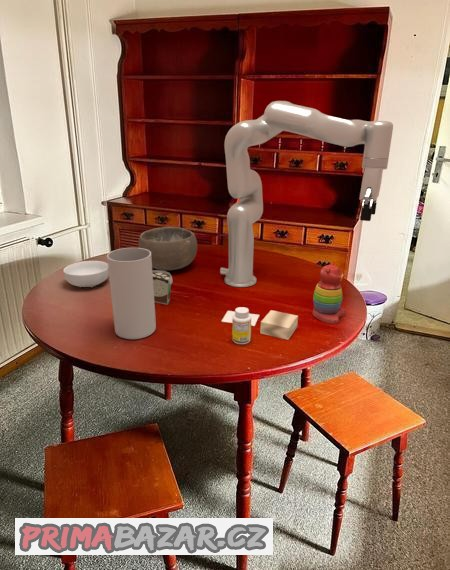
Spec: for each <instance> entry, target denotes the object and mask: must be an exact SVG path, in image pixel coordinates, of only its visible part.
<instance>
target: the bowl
mask: <svg viewBox="0 0 450 570" xmlns="http://www.w3.org/2000/svg"><path fill="white" fill-rule="evenodd" d="M138 248H143V249H147V250H149V251H150V252H151V258H152V269H153V270H154V269H155V270H159V271H165V272H169V271H174V270H180V269H183V268H185V267H188V265H190V264H191V263H192V262H193V260H194V259H195V257H196V255H197V252H198V240H197V238H196V235H195V233H194V232H192V231H191V230H189V229H186V228H183V227H177V226H163V227H157V228H156V227H155V228H152V229H148V230H146V231H143V232H141V234H140V236H139V237H138Z"/></svg>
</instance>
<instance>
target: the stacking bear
mask: <svg viewBox="0 0 450 570" xmlns="http://www.w3.org/2000/svg"><path fill="white" fill-rule="evenodd" d="M319 274H320V275H319V277H320V280H319V281H318V283H317V284H316V286H315V288H314V291H313V292H314V293H313V297H312V298H313V299H312V301H313V310H312V314H311V315H313V316H314V318H316V319H318V320H319V321H320V322H323V323H327V324H332V325H335V324H338V323H339V322H340V319H339V318H340V317H343V316H345V315H346V310H345V309H344V308H342V307H341V306H342V303H343V297H344V296H343V290H342V289H343V288H342V284H341V283H340V282H342V281H343V279H344V278H345V277H344V276H345V275H344V273H343V272H342V270H341V269H340V268H339V267H338V266H337V265H335V264H334V263H333V262H332V263H330V264H327V265H324V266H322V268H321V269H320V273H319Z"/></svg>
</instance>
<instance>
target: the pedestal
mask: <svg viewBox="0 0 450 570" xmlns="http://www.w3.org/2000/svg"><path fill="white" fill-rule="evenodd" d="M298 320H299V315H296V314H291V313H287V312H282V311H277V310H272V309H271V310H269V312H268V313H267V314H266V315H265V316H264V318H263V319H261V321H260V331H259V332H260V335H261V334H262V335H266V336H270V337H274V338H277V339H283V340H287V341H289V340H290V339H291V336H292V335H293V334H294V332H295V331H296V330H297V328H298V322H299V321H298Z"/></svg>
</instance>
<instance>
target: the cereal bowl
mask: <svg viewBox="0 0 450 570" xmlns="http://www.w3.org/2000/svg"><path fill="white" fill-rule="evenodd" d="M62 273H63V276H64V278H65V280H66V282H68V283H69V284H70V285H71V286H76V287H78V288H81V287H91V288H94V286H95V287H97V286H99V284H102V283H103V282H105V281H106V280H107V278H109V270H108V262H106V261H101V260H100V261H99V260H83V261H78V262H75V263H71V264H69V265H67V266H65V267H64V268H63V271H62ZM96 285H97V286H96Z"/></svg>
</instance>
